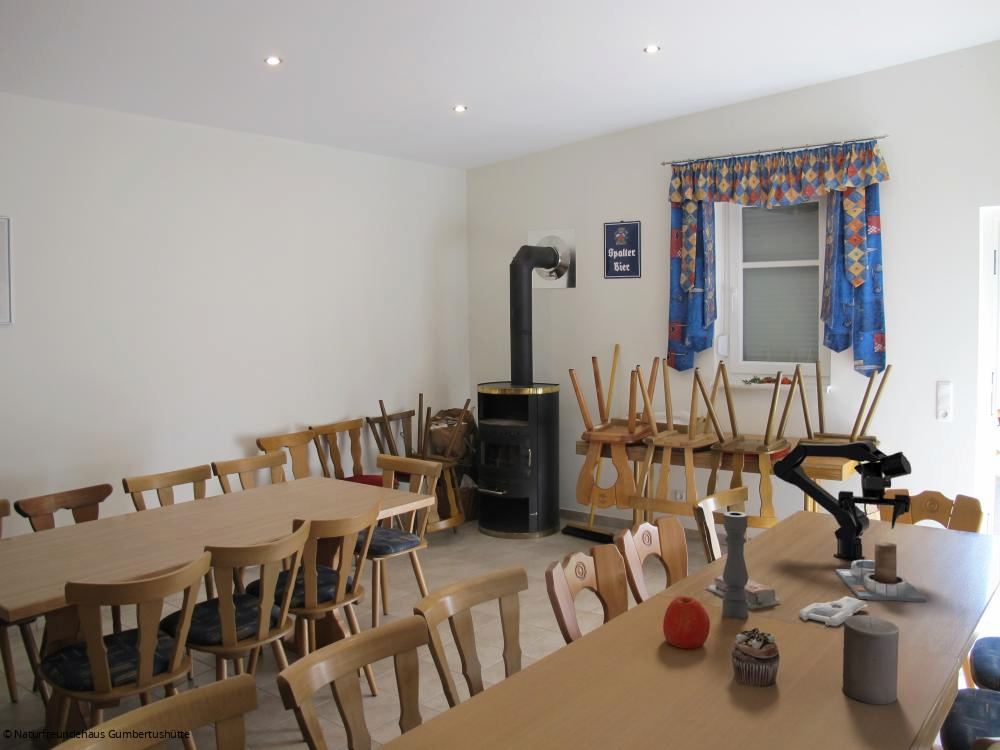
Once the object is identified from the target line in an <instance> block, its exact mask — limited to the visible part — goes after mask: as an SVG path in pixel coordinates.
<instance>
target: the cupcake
mask: <svg viewBox="0 0 1000 750" xmlns="http://www.w3.org/2000/svg"><path fill="white" fill-rule="evenodd" d="M736 639H737V640H735V641H734V646H733V648H732V649H731V650H730V655H729V656H730V658H731V662H732V667H733V673H734V679H736V681H737V682H738V683H742V684H744V685H746V686H749V687H755V688H766V687H767V688H768V687H770V686H772V685H774V684H775V683H776V680H777V675H778V670H779V665H780V662H781V657H780V651H779V648H778V645H777V643H776V642H775V641H776V638H775V635H774V634H771V633H770V632H769V633H768V632H760V630H759V628H757V627H754V628H753V629H751V630H742V631H741V630H740V632H739V634H736Z"/></svg>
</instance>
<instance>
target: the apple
mask: <svg viewBox="0 0 1000 750" xmlns="http://www.w3.org/2000/svg"><path fill="white" fill-rule="evenodd" d="M662 628H663V629H662V630H663V631H662V632H663V635H664V637H665V640H666V641H667V642H668V643H669V644H670V645H671V646H674V647H678V648H682V649H695V648H699V647H700V646H703V645H704V644H705V642H706V641H707V639H708V637H709V634H710V629H711V620H710V617H709V614H708V612H707V611H706V609H705V607H704V606H703V604H701V602H700V601H699V600H697V599H696V598H693V597H689V596H677V597H676V598H673V599H672V600H671V602H670V603H669V604H668V606H667V608H666V610H665V614H664V616H663V623H662Z"/></svg>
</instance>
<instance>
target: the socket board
mask: <svg viewBox="0 0 1000 750" xmlns="http://www.w3.org/2000/svg"><path fill="white" fill-rule="evenodd" d="M835 573H836V575H839V576H840V577H841V578H842V579H841V578H840V577H839V576H838V577H839V578H840V579H841V580H842V582H844V584H845V583H846V584H847V585H848V586H849V587H850V588H851V589H850V588H849V587H848V586H847V585H846V584H845V585H846V586H847V587H848V588H849V589H850V591H851V592H852V591H853V592H854V593H855V594H856V595H857V596H858V597H857V596H856V595H855V594H854V593H853V592H852V593H853V594H854V595H855V596H856V597H857V599H867V600H866V601H887V600H897V601H896V602H918V601H921V602H925V603H926V601H927V600H926V596H924V595H923V594H922V593H921V591H919V590H918V589H916V588H915V587H914V586H913V585H912V584H911V583H910V582H909V581H908V580H907V579H906V578H905V577H903V576H902V575H901V574H899V573H898V572H897V583H896V584H891V583H881V582H876V581H875V560H873V559H872V560H871V559H858V560H853V561H851V563H850V569H848V568H847V569H846V568H845V569H844V568H840V569H839V568H835ZM921 602H920V603H921Z"/></svg>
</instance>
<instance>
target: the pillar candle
mask: <svg viewBox="0 0 1000 750" xmlns="http://www.w3.org/2000/svg"><path fill="white" fill-rule="evenodd" d="M899 632H900V628H899V626H898V625H896V624H895V623H894V622H892V621H889V620H888V619H886V618H881V617H877V616H871V615H870V616H869V615H861V614H860V615H859V614H858V615H857V614H856V615H852V616H851V617H848V618H846V619H845V621H844V622H843V647H842V648H843V650H842V654H843V655H842V656H843V659H842V687H841V690H842V692H843V694H845V695H846V696H847V697H849V698H851V699H853V700H855V701H858V702H862V703H864V704H870V705H890V704H893V703H894V702H895V701H896V700H897V696H898V693H897V692H898V669H899V668H898V667H899V664H898V663H899V662H898V661H899V636H900V635H899Z"/></svg>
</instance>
